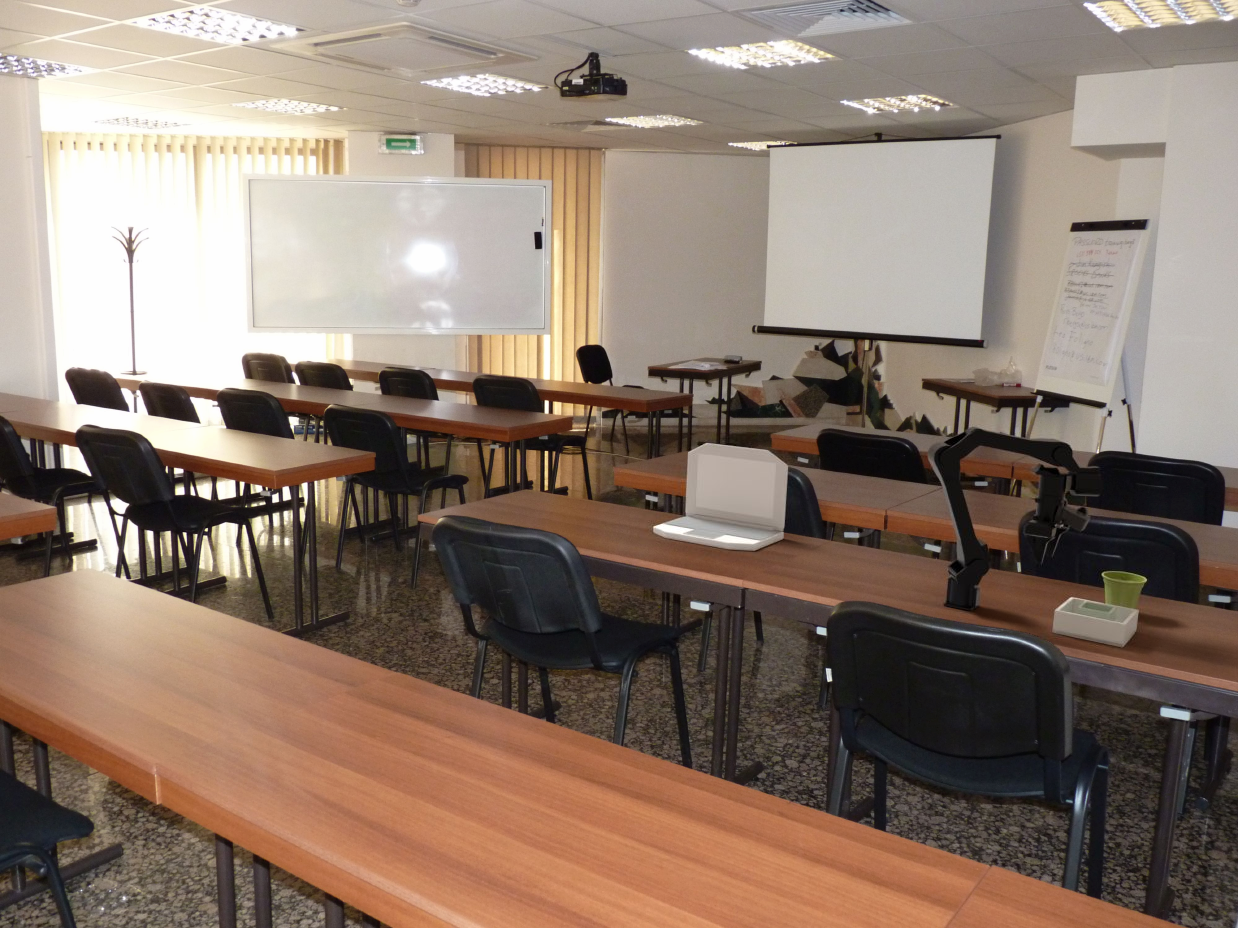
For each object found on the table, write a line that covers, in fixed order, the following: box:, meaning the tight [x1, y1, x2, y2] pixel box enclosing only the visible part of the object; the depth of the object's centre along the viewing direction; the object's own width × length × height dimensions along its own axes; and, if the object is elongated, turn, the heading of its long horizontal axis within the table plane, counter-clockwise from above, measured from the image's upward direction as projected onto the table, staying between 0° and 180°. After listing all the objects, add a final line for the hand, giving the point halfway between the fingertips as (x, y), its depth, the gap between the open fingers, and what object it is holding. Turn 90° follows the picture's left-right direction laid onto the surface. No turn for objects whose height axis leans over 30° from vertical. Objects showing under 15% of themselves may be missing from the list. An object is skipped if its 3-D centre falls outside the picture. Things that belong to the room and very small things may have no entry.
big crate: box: [1051, 597, 1139, 648], centre depth 218 cm, size 14×14×5 cm
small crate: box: [1077, 601, 1117, 621], centre depth 218 cm, size 6×6×5 cm
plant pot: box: [1101, 570, 1148, 610], centre depth 234 cm, size 9×9×9 cm
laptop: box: [652, 442, 789, 552], centre depth 296 cm, size 33×24×26 cm
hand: (1044, 560), depth 232 cm, fingers open, 9 cm apart
